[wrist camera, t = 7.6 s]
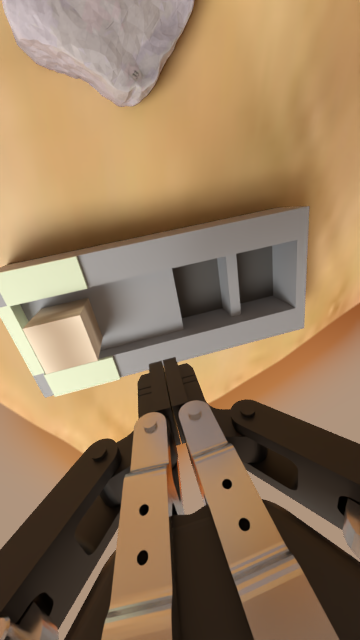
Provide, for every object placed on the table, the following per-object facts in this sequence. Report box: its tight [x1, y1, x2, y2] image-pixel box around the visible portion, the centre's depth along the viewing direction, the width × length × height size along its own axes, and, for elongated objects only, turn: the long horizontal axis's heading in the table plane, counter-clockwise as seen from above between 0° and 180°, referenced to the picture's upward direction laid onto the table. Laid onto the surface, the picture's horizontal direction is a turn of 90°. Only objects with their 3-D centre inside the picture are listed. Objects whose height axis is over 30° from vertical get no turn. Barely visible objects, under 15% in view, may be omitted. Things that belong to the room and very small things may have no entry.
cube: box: [23, 298, 103, 374], centre depth 20 cm, size 4×4×4 cm
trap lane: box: [0, 206, 309, 397], centre depth 23 cm, size 26×12×5 cm, turn 101°
